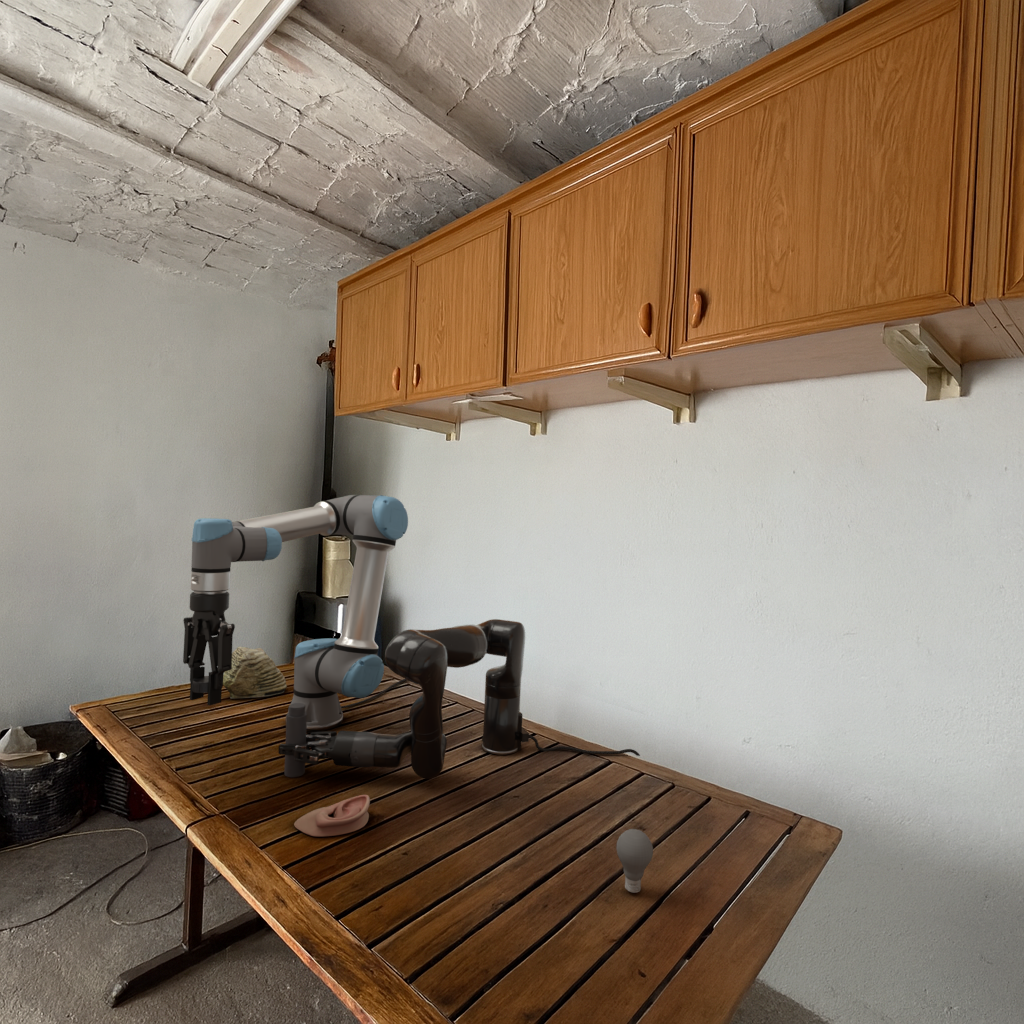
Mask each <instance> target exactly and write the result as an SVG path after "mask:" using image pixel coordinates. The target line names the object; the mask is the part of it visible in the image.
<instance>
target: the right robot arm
mask: <svg viewBox="0 0 1024 1024" xmlns="http://www.w3.org/2000/svg"><path fill="white" fill-rule="evenodd" d="M525 647H526V629H525V625H524V624H523V623H522V622H520V621H514V620H509V619H507V620H506V619H498V618H492V619H488V620H486V621H482V622H481V623H477V624H462V625H456V626H450V627H442V628H438V629H415V628H414V629H413V628H410V629H409V628H408V629H405V630H403V631H400V632H399V633H397V634H396V635H395V636H394V637H393V638H392V639H391V640H390V642H389V643H388V645H387V646H386V649H385V653H384V661H385V664H386V667H388V669H389V670H390V671H391V672H393V673H394V674H395V675H397V676H399V677H401V678H403V679H407V680H406V681H409V682H411V683H413V684H414V685H418V686H420V687H421V690H422V693H421V694H420V695H419V696H418V697H417V698H416V699H415V700H414V702H413V703H412V705H411V707H410V709H409V713H408V714H409V715H408V717H409V718H408V721H409V729H410V731H409V732H404V733H399V734H386V733H376V732H372V731H355V730H340V731H336V730H326V731H318V732H310V734H306V744H301V745H296V744H285V743H280V744H279V745H278V754H279V755H281V756H285V755H294V756H295V758H294V760H295V761H299V762H304V763H305V764H309V765H315V766H316V765H318V764H319V763H320V762H319V761H320V760H326V759H332V762H333V764H334V765H335V766H337V767H349V768H351V767H352V768H389V769H391V768H392V769H395V768H400V767H401V765H402V764H403V761H404V759H405V758H406V756H407V755H409V754H410V765H411V769H412V770H413V772H414V774H416V776H418V778H419V777H420V779H421V778H422V779H425V780H430V779H434V778H436V777H438V776H439V775H440V773H442V771H443V768H444V764H445V756H446V751H447V745H448V739H447V737H446V735H445V734H444V720H443V699H444V695H445V694H444V693H445V689H446V680H447V672H448V668H455V669H457V668H459V669H460V668H464V667H468V666H473V665H475V664H477V663H479V662H480V661H482V660H483V659H484V657H485V656H486V654H487V655H489V656H490V655H491V656H497V657H502V658H503V657H504V658H505V662H504V664H502V665H499V666H495V667H494V666H493V667H491V668H488V669H487V671H486V672H485V680H484V681H485V683H484V706H483V728H482V729H483V730H482V736H481V743H482V745H481V748H482V750H483V751H485V752H486V753H488V754H492V755H496V756H497V755H498V756H505V755H513V754H514V753H516V752H519V751H522V743H529V742H530V739H531V740H532V741H533V742H534V744H535V748H536V749H537V750H538V751H540V752H555V751H559V750H566V751H573V752H577V753H582V754H587V755H623V754H626V753H631V754H633V755H635V756H638V757H640V756H641V754H640V753H639V752H638V751H637V750H635V749H632V748H626V749H622V750H588V749H581V748H577V747H572V746H566V745H565V746H563V745H560V746H559V745H558V746H554V747H550V748H543V747H541V746H540V745H539V741H538V739H537V738H536V737H535V736H533V735H532V734H530V733H529V732H528V730H526V729H525V728H524V727H523V713H522V712H521V687H522V677H523V676H522V675H523V669H524V659H525V658H524V656H525ZM302 748H306V749H302Z"/></svg>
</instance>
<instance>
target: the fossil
mask: <svg viewBox="0 0 1024 1024" xmlns="http://www.w3.org/2000/svg"><path fill="white" fill-rule="evenodd" d="M223 687H224V688H225V690H226V691H228V693H229V698H230V699H250V698H264V697H271V696H275V695H281V694H284V693H285V691H286V689H287V687H288V686H287V680H286V678H285V676H284V674H283V673H282V672H281V669H279V668H278V667H277V665H276V663H275V662H274V660H273V659H272V658H271V657H270V656H269V655H268V654H267V653H266V652H265V650H264V649H263V648H260V647H258V648H251V647H247V646H246V647H245V646H238V647H237V648H236V649H235V650H233V651H232V668H231V670H229V671H225V672H224V674H223Z"/></svg>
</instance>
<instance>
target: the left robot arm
mask: <svg viewBox="0 0 1024 1024" xmlns="http://www.w3.org/2000/svg"><path fill="white" fill-rule="evenodd" d="M408 515H409V514H408V512H407V508H405V505H404V504H403V502H401V500H400V499H398V498H397V497H394V496H387V495H383V494H380V495H377V494H376V495H374V494H373V495H372V494H369V495H368V494H349V495H344V496H340V497H335V498H331V499H327V500H321V501H319V502H316V503H315V504H314V505H313V506H310V507H305V508H300V509H294V510H290V511H283V512H277V513H273V514H267V515H262V516H261V515H260V516H256V517H251V518H245V519H241V520H240V519H239V520H236V521H235V520H234V521H232V520H231V519H229V518H212V517H204V518H203V517H201V518H197V519H196V520H195V521H194V523H193V528H192V537H191V565H190V566H191V569H190V570H191V571H190V572H191V573H190V574H191V575H190V590H191V591H192V592H191V593H190V594H189V610H190V611H191V612H193V614H192V616H187V617H184V618H183V621H182V622H183V626H184V636H183V637H184V638H183V654H182V655H183V656H182V662H183V664H184V665H188V666H187V667H188V668H189V683H190V685H189V686H190V687H189V700H190V701H194V700H198V699H202V698H204V697H205V695H204V694H205V693H196V692H193V691H192V682H193V679H195V678H197V677H202V676H206V675H205V673H206V667H205V665H206V663H205V662H204V657H205V654H206V650H207V649H206V648H207V645H208V653H209V660H210V668H211V669H210V670H211V671H209V672H208V676H209V679H208V693H207V703H206V704H207V706H213V705H216V704H219V703H222V694H223V693H222V690H223V687H224V685H223V677H224V676H223V675H224V672H225V671H229V670H231V668H232V653H233V638H234V637H233V636H234V631H235V628H236V625H235V623H229V622H227V621H226V616H225V612H226V611H227V610H228V609H229V607H230V593H229V590H230V589H231V567H232V563H239V562H240V563H241V562H266V561H272V560H275V559H277V557H279V555H280V554H281V552H282V549H283V543H285V542H290V541H293V540H297V539H302V538H307V537H311V536H315V535H319V534H320V535H321V536H324V537H327V536H332V535H345V536H347V535H348V536H352V542H353V544H354V546H355V547H356V551H355V557H354V563H353V567H352V575H351V579H350V580H351V581H350V585H349V592H348V597H347V603H346V609H345V615H344V619H343V621H344V622H343V626H342V632H341V636H340V637H339V638H335V637H334V638H331V637H329V638H315V639H308V640H304V641H301V642H299V643H298V644H297V645H296V646H295V652H294V656H293V659H294V661H293V662H294V663H293V664H294V668H293V695H292V696H293V697H292V699H291V702H290V704H289V705H291V704H294V703H303V704H305V706H306V707H305V712H307V730H306V733H311V732H326V731H330V730H332V729H335V728H337V727H339V726H340V725H342V723H343V722H344V714H343V709H349V708H352V707H355V706H358V705H361V704H364V703H367V702H370V701H372V700H374V699H376V698H377V697H380V696H381V695H383V694H384V693H386V692H388V691H389V690H390V689H392V688H394V687H395V686H398V685H400V684H402V683H404V682H406V681H408V680H407V679H405V678H403V679H401V680H399V681H397V682H395V683H393V684H391V685H390V686H388V687H386V688H385V689H383V690H382V691H380V692H379V693H377V694H375V695H372V694H373V693H374V691H375V690H377V688H378V687H379V686H380V684H381V682H382V680H383V677H384V673H385V664H384V663H383V660H382V658H381V657H380V656H379V655H378V653H379V646H378V644H377V643H376V642H375V637H376V631H377V625H378V619H379V618H378V617H379V612H380V606H381V601H382V600H381V599H382V593H383V587H384V582H385V577H386V570H387V563H388V558H389V553H390V552H391V551H392V550H394V549H395V548H396V543H397V541H398V540H400V539H402V538H403V537H404V535H405V534H406V533H407V530H408V526H409V516H408ZM338 694H339V695H343V696H344V697H347V698H355V699H363V700H360V701H357V702H354V703H351V704H347V705H341V702H340V699H339V695H338ZM370 695H372V696H370ZM369 696H370V697H369ZM367 697H368V698H367ZM287 710H288V709H287ZM287 713H289V710H288V711H287Z"/></svg>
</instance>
